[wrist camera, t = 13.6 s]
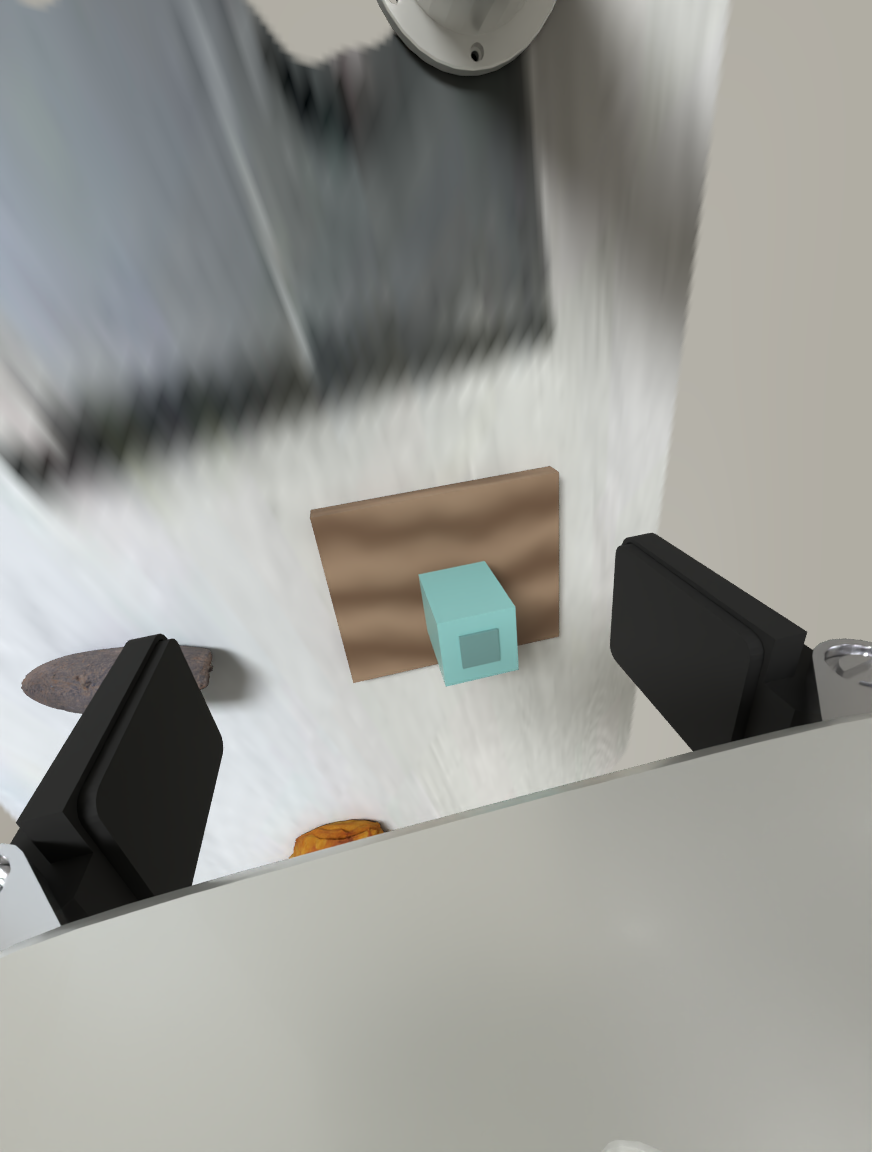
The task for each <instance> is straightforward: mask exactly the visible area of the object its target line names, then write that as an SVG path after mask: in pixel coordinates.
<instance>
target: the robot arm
mask: <svg viewBox="0 0 872 1152" xmlns="http://www.w3.org/2000/svg"><path fill="white" fill-rule="evenodd" d="M396 1H397V4H393V3H391V1H390V0H377V2H378V4H379V6H380V8H381V10H382V12H383V13H384V15H385V17H386V18H387V20H388V22H389V23H390V25H391V27H392V29H393V30H394V31H395V32H396V34H397V35H398V36H399V37H400V38H401V40H402V41H403V42H404V43H405V45H406V46H407V47H408V48H409V49H410V50H411V51H413V52H414V53H415V54H416V55H417V56H419V57H420V58H421V59H422V60H423V61H425V62H426V63H428V64H430V65H432V66H434V67H436V68H437V69H439V70H441V71H444V72H447V73H451V74H455V75H459V76H479V75H483V74H486V73H489V72H493V71H496V70H498V69H500V68H501V67H503V66H505V65H507V64H508V63H510V62H512V61H513V60H514V59H515V58H516V57H517V56H518V55H520V54H521V53H522V52H523V51H524V50H525V49H526V48H527V47H528V46H529V44H530V43H531V42H532V40H533V39H534V38H535V37H536V35H537V34H538V33H539V32H540V30H541V28H542V27H543V25H544V23H545V22H546V20H547V18H548V17H549V15H550V13H551V12H552V10H553V7H554V5H555V3H556V0H396ZM471 54H475V55H476V57H477V62H475V61H474V60H473V59H472V58H471ZM806 635H807V631H805V630H803V629H802V628H800V627H799V626H797V625H796V624H794V623H792V622H791V621H790V620H788V619H786V618H785V617H783V616H782V615H780V614H779V613H777V612H776V611H774V610H773V609H771V608H769V607H768V606H766V605H765V604H763V603H762V602H760V601H759V600H757V599H755V598H754V597H752V596H751V595H749V594H748V593H746V592H744V591H743V590H742V589H740V588H738V587H737V586H735V585H734V584H732V583H730V582H729V581H728V580H726V579H724V578H723V577H721V576H720V575H718V574H716V573H715V572H713V571H712V570H711V569H709V568H707V567H706V566H704V565H703V564H701V563H699V562H698V561H696V560H695V559H693V558H692V557H690V556H689V555H687V554H686V553H684V552H683V551H681V550H680V549H678V548H676V547H675V546H673V545H672V544H670V543H669V542H667V541H666V540H664V539H662V538H661V537H659V536H658V535H656V534H654V533H648V534H643V535H638V536H633V537H628V538H626V539H625V540H624V541H623V543H622V545H621V546H619V547H618V548H617V550H616V556H615V573H614V589H613V605H612V621H611V637H610V648H611V652H612V655H613V657H614V659H615V661H616V662H617V663H618V664H619V665H620V667H621V668H622V669H623V670H624V671H625V672H626V674H627V675H628V676H629V677H630V678H631V679H632V681H633V682H634V683H635V684H636V685H637V686H638V688H639V689H640V690H641V691H642V692H643V693H644V695H645V696H646V697H647V698H648V699H649V700H650V701H651V703H652V704H653V705H654V706H655V707H656V709H657V710H658V711H659V712H660V713H661V714H662V716H663V717H664V718H665V719H666V720H667V721H668V723H669V724H670V725H671V726H672V727H673V728H674V729H675V731H676V732H677V733H678V734H679V735H680V737H681V738H682V739H683V740H684V741H685V742H686V743H687V745H688V746H689V747H690V748H691V749H692V751H693V752H689V753H686V754H682V755H678V756H674V757H670V758H666V759H663V760H659V761H655V762H651V763H647V764H643V765H640V766H636V767H632V768H628V769H624V770H620V771H616V772H613V773H608V774H604V775H601V776H597V777H593V778H589V779H585V780H581V781H577V782H574V783H570V784H566V785H562V786H558V787H555V788H551V789H547V790H543V791H540V792H536V793H532V794H528V795H524V796H521V797H517V798H513V799H509V800H505V801H502V802H498V803H494V804H490V805H487V806H483V807H479V808H475V809H471V810H468V811H464V812H460V813H456V814H453V815H449V816H445V817H441V818H438V819H434V820H430V821H426V822H423V823H419V824H415V825H411V826H408V827H404V828H400V829H396V830H393V831H389V832H385V833H382V834H378V835H374V836H371V837H367V838H363V839H359V840H356V841H352V842H348V843H345V844H341V845H337V846H334V847H330V848H326V849H323V850H319V851H315V852H311V853H308V854H304V855H300V856H297V857H293V858H289V859H286V860H282V861H278V862H275V863H271V864H267V865H264V866H260V867H256V868H252V869H249V870H245V871H241V872H238V873H234V874H231V875H227V876H224V877H220V878H217V879H213V880H210V881H206V882H203V883H199V884H196V885H193V886H192V882H193V878H194V874H195V869H196V865H197V861H198V857H199V852H200V848H201V844H202V840H203V835H204V831H205V827H206V823H207V818H208V814H209V810H210V806H211V801H212V797H213V793H214V789H215V784H216V780H217V776H218V772H219V767H220V763H221V759H222V755H223V741H222V737H221V734H220V732H219V730H218V728H217V725H216V723H215V721H214V719H213V717H212V715H211V713H210V710H209V708H208V706H207V704H206V702H205V700H204V697H203V695H202V693H201V691H200V689H199V687H198V685H197V682H196V680H195V678H194V676H193V674H192V672H191V669H190V667H189V665H188V663H187V661H186V659H185V657H184V654H183V652H182V650H181V648H180V646H179V644H178V642H177V641H176V640H175V639H167V638H166V637H165V636H164V635H163V634H157V635H152V636H147V637H142V638H137V639H132V640H129V641H128V642H127V643H126V644H125V646H124V648H123V649H122V651H121V652H120V654H119V656H118V657H117V659H116V661H115V662H114V664H113V665H112V667H111V669H110V670H109V672H108V674H107V675H106V677H105V678H104V680H103V682H102V683H101V685H100V687H99V688H98V690H97V691H96V693H95V695H94V696H93V698H92V700H91V701H90V703H89V705H88V706H87V708H86V709H85V711H84V713H83V714H82V716H81V718H80V719H79V721H78V722H77V724H76V726H75V727H74V729H73V731H72V732H71V734H70V735H69V737H68V739H67V740H66V742H65V744H64V745H63V747H62V748H61V750H60V752H59V753H58V755H57V757H56V758H55V760H54V761H53V763H52V765H51V766H50V768H49V770H48V771H47V773H46V774H45V776H44V778H43V779H42V781H41V783H40V784H39V786H38V788H37V789H36V791H35V792H34V794H33V796H32V797H31V799H30V801H29V802H28V804H27V805H26V807H25V809H24V810H23V812H22V814H21V815H20V817H19V818H18V820H17V822H16V824H17V825H18V826H19V827H20V828H19V830H18V832H17V833H16V835H15V837H14V838H13V840H12V842H11V843H10V844H4V843H2V844H0V1152H872V642H868V641H863V640H855V639H832V640H828V641H825V642H822V643H820V644H818V645H817V646H816V647H815V648H814V649H813V650H812V649H810V648H809V647H807V646H806V645H804V641H805V638H806Z"/></svg>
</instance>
